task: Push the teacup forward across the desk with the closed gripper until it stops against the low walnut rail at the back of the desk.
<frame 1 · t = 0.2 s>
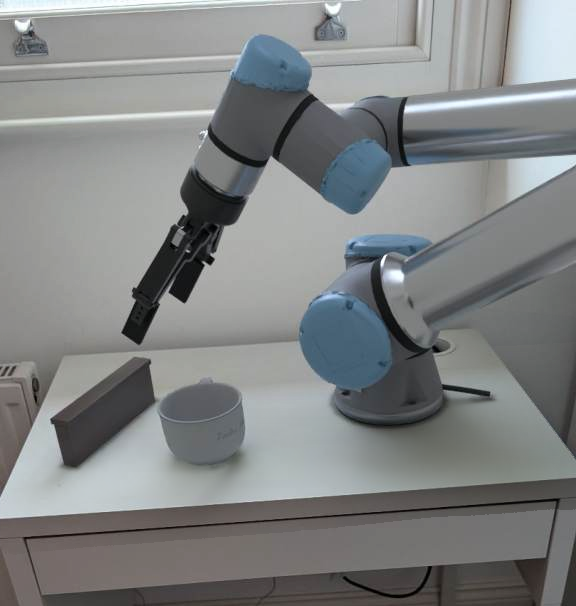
hand: (155, 316, 107), 15 cm above the table, tool tilted 35°, fingers open, 13 cm apart
teacup: (210, 449, 108), on the table
back rail: (112, 430, 113), on the table
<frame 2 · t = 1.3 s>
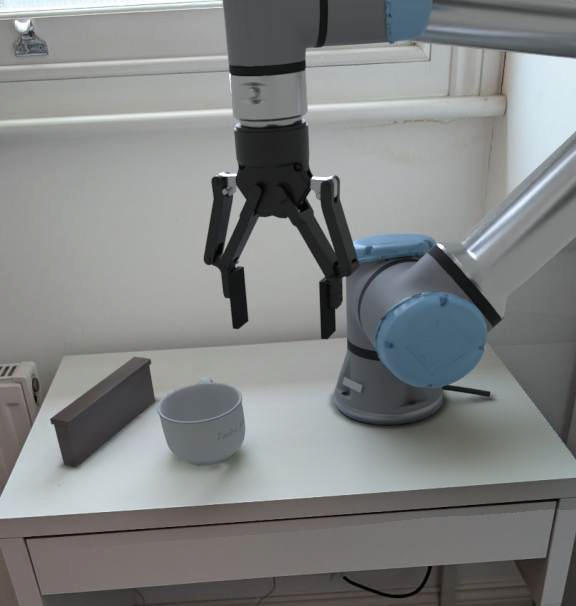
hand: (283, 329, 93), 18 cm above the table, tool pointing down, fingers open, 10 cm apart
nothing on the table moved.
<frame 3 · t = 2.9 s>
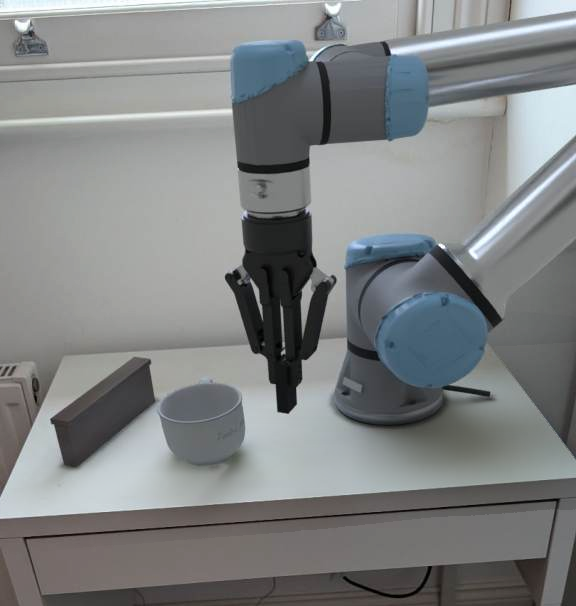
hand: (287, 408, 99), 8 cm above the table, tool pointing down, fingers closed
nothing on the table moved.
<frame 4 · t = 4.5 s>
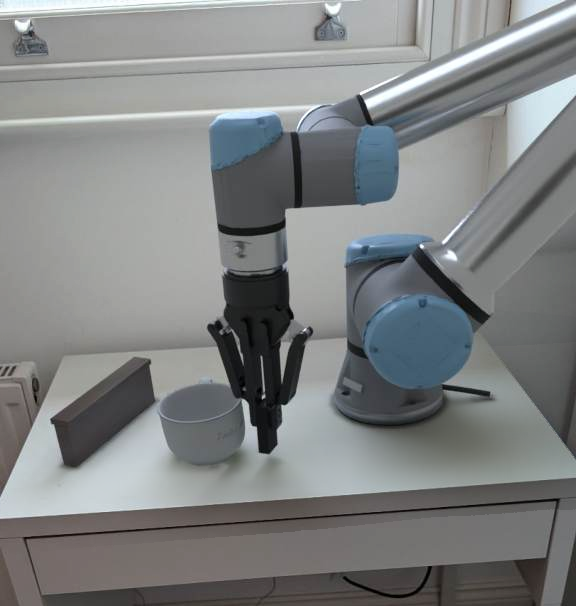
hand: (268, 448, 104), 2 cm above the table, tool pointing down, fingers closed
teacup: (210, 449, 108), on the table, touching gripper
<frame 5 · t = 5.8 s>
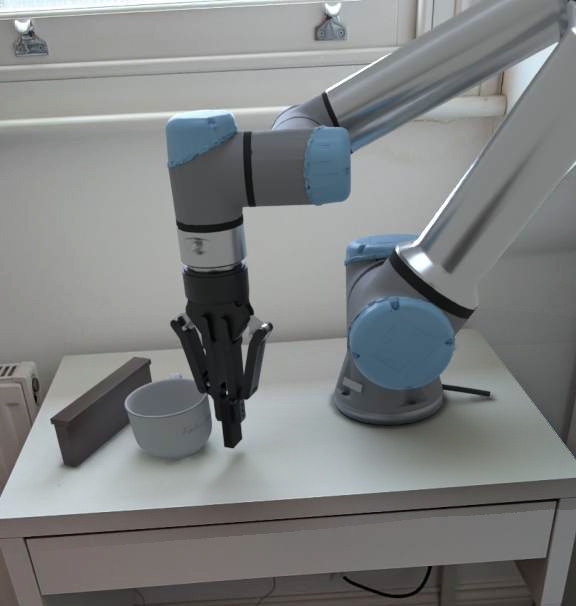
hand: (233, 442, 105), 2 cm above the table, tool pointing down, fingers closed
teacup: (178, 443, 110), on the table, touching gripper
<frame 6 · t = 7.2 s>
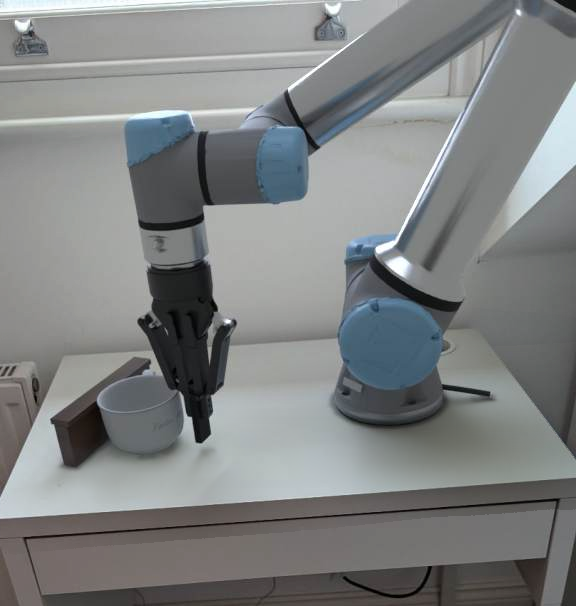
hand: (203, 438, 107), 1 cm above the table, tool pointing down, fingers closed
teacup: (151, 439, 111), on the table, touching back rail, gripper
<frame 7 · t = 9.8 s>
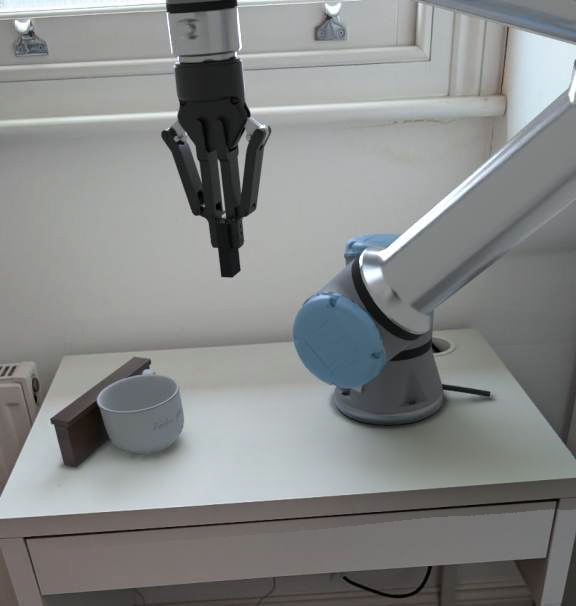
hand: (231, 273, 100), 21 cm above the table, tool pointing down, fingers closed
teacup: (151, 439, 111), on the table
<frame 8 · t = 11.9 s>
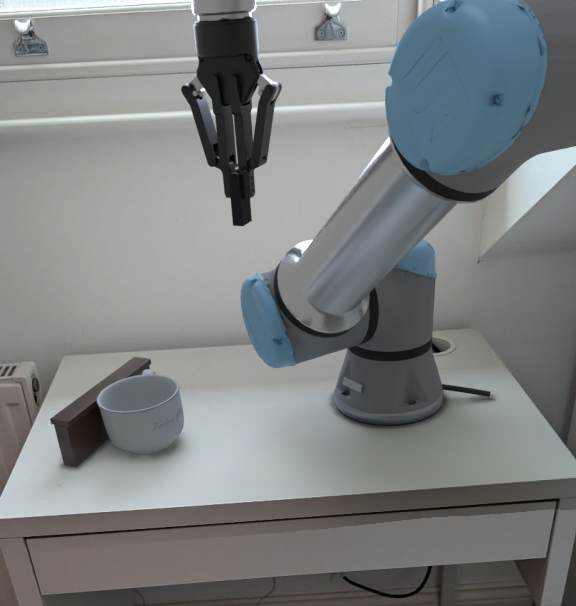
hand: (242, 223, 108), 24 cm above the table, tool pointing down, fingers closed
nothing on the table moved.
at the end: teacup inside the target area (0.1 cm from its centre), on the table; teacup tilted 0° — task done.
